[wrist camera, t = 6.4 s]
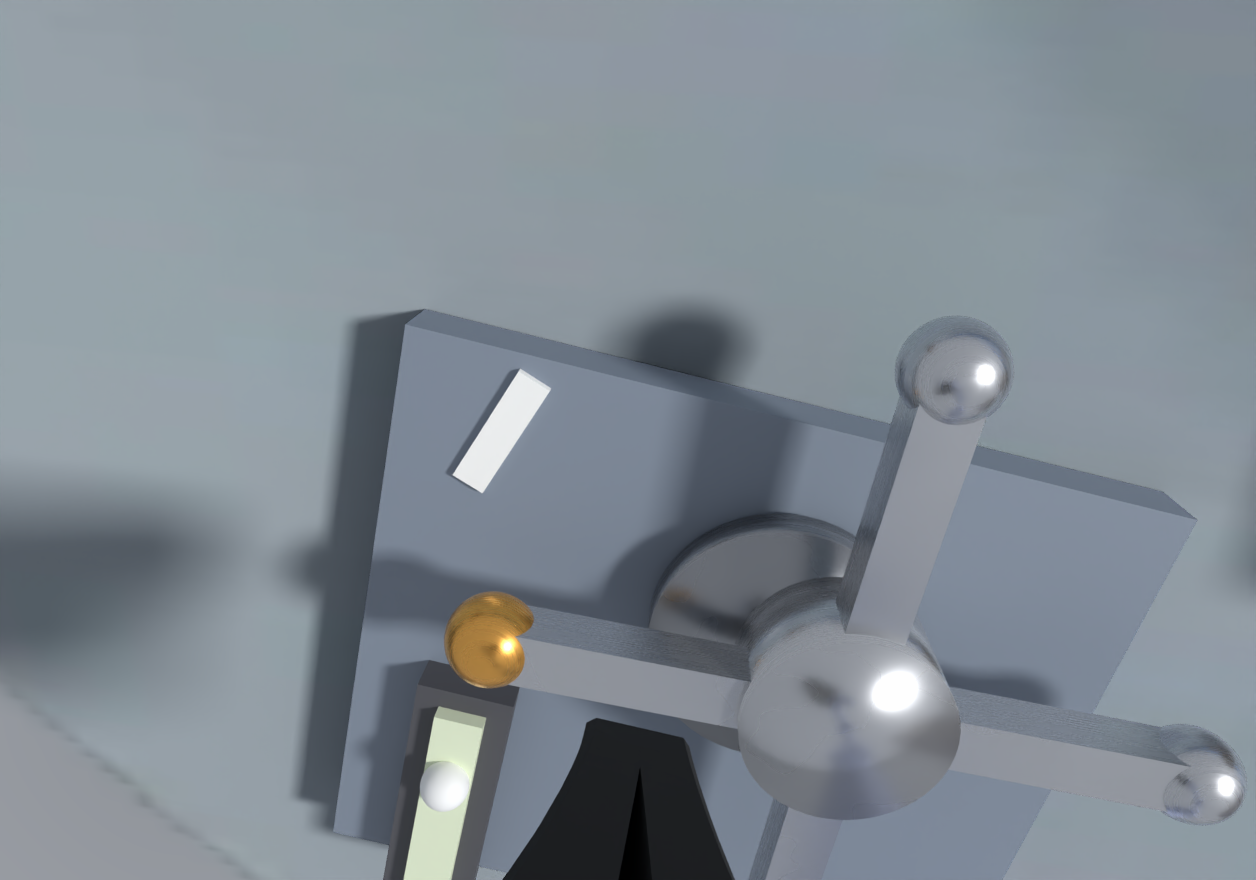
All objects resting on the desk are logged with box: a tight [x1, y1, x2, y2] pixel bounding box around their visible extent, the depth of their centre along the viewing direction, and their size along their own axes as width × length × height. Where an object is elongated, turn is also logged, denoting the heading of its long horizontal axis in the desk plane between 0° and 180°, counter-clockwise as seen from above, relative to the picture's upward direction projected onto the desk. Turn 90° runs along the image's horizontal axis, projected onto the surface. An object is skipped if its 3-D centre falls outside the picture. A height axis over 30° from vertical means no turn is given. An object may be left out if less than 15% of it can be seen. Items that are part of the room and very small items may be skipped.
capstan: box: [444, 316, 1247, 880], centre depth 19 cm, size 17×17×4 cm
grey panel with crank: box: [333, 309, 1197, 880], centre depth 22 cm, size 16×18×4 cm
